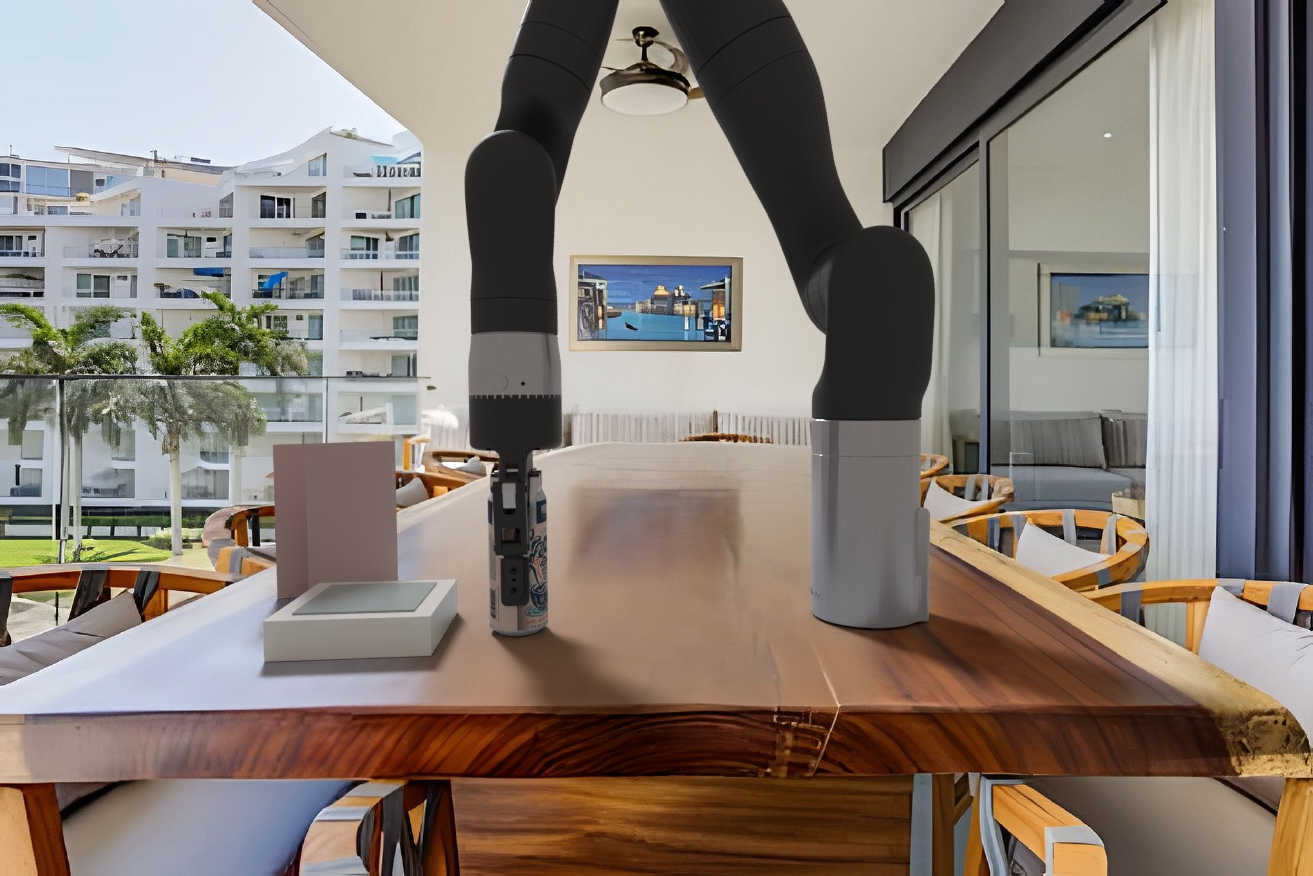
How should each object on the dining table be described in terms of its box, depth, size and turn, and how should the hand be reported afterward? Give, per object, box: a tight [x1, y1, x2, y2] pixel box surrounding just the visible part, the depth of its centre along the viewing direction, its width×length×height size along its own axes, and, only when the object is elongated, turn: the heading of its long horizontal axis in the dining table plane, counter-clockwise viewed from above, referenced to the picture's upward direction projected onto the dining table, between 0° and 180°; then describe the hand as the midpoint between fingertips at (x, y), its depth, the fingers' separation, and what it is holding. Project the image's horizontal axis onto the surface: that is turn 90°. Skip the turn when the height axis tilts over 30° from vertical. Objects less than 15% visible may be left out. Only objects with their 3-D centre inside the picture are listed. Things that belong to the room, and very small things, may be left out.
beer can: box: [487, 486, 549, 637], centre depth 64 cm, size 5×5×12 cm
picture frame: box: [262, 578, 459, 663], centre depth 63 cm, size 12×12×3 cm
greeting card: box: [272, 440, 399, 599], centre depth 75 cm, size 11×7×15 cm, turn 121°
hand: (518, 595), depth 64 cm, fingers closed on beer can, 4 cm apart
